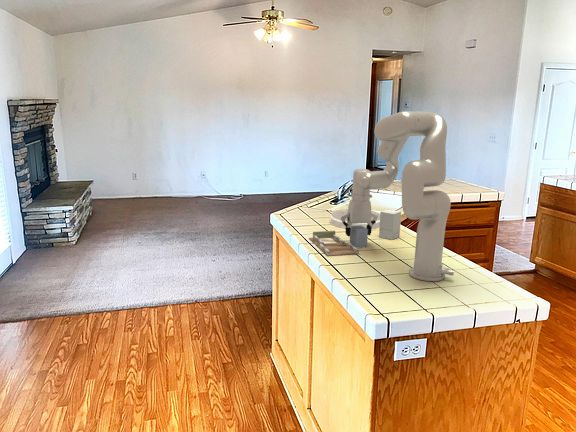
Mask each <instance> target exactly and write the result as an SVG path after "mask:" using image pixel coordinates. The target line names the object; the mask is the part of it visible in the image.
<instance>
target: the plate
mask: <svg viewBox="0 0 576 432" xmlns="http://www.w3.org/2000/svg"><path fill="white" fill-rule="evenodd" d="M347 212H348V208H342V209H341V208H339V209H337V210H334V211H332V213H331V215H330V219H329V220H330V224H331V225H332V226H334V227H337V228H340V229H345V230H346V226H345V225H344V224H343V223H342V221H341V217H342V216H344V215H346V214H347ZM371 213H372V214H374V215H376V216H378V218H377V220H376V222H375V224H374V225H373V226H372V229H371V230H376V229H377V230H378V229H379V228H380V212H376V211H375V210H371ZM372 220H373V217H372V216H371V221H372ZM371 221H370V222H371ZM345 222H346V223H347V218H346V219H345ZM352 225H361V226H363V227H365V228H367V225H368V224H367V223H355V224H352ZM352 225H351V226H352Z"/></svg>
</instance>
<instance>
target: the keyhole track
mask: <svg viewBox="0 0 576 432" xmlns="http://www.w3.org/2000/svg"><path fill="white" fill-rule="evenodd" d="M308 239H309V241H311V242H312V243H313V244H314V245H315V246H316V247H317V248H318V249H319V250H320V251H321V252H322V253H323V254H325V256H326V257H338V256H354V255H355V256H356V255H360V249H358V248H356V247H355V246H353V245H352V244H351V243H350V242H346V241H345V240H344V239H342V238H341V237H339V236H338V235H336V230H322V231H319V230H318V231H313V232H312V237H309V238H308Z"/></svg>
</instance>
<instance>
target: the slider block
mask: <svg viewBox="0 0 576 432" xmlns="http://www.w3.org/2000/svg"><path fill="white" fill-rule="evenodd" d="M350 228H351V231H350V236H349V243H350V244H352V245H354V247H356V248H357V247H360V248H367V247H368V237H369V235H368V229H366V228H365V227H363V226H361V225H352V226H350ZM357 249H358V248H357Z"/></svg>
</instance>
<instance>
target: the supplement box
mask: <svg viewBox="0 0 576 432" xmlns="http://www.w3.org/2000/svg"><path fill="white" fill-rule="evenodd" d="M379 214H380V228H378V229H379V230H378V232H379V233H378V238H381V239H387V240H390V241H391V240H395V239H398V238H399V239H400V235H401V221H402V219H401V217H402V211H400V210H393V209H389V208H388V209H384V210H380V212H379Z"/></svg>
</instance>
